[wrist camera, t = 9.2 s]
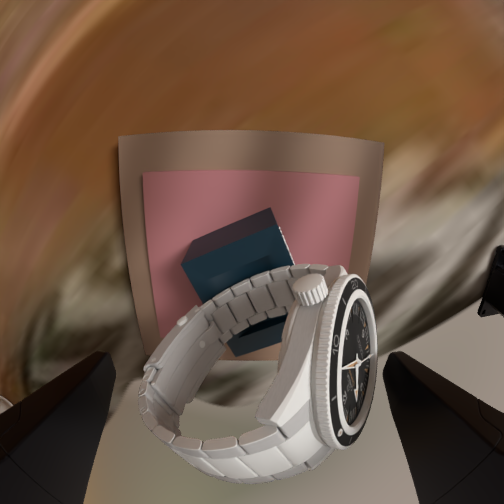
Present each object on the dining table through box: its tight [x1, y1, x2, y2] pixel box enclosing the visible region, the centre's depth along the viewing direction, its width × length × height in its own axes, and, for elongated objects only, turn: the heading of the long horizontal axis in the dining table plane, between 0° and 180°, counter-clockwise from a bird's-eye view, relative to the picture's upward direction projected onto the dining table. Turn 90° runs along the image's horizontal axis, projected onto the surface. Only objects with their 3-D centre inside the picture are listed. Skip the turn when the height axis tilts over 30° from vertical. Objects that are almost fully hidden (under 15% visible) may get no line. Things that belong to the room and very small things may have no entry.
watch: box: [138, 207, 378, 484], centre depth 10 cm, size 6×8×11 cm
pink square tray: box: [118, 130, 384, 361], centre depth 16 cm, size 14×14×1 cm
